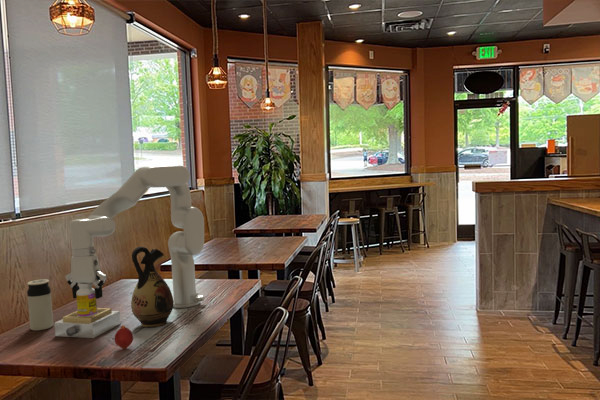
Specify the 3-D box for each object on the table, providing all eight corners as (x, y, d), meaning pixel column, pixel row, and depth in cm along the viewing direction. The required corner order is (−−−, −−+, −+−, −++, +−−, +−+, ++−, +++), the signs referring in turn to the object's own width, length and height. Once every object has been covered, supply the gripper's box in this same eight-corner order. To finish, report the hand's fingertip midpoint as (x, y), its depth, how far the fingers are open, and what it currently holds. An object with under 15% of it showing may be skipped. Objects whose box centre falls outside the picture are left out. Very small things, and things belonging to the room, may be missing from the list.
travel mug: (58, 324, 195) (54, 279, 194) (41, 331, 187) (37, 284, 186) (42, 323, 197) (38, 278, 196) (25, 330, 190) (21, 283, 189)
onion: (118, 346, 168) (116, 323, 167) (135, 345, 168) (134, 321, 168) (113, 352, 162) (111, 328, 161) (131, 351, 162) (129, 327, 162)
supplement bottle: (90, 319, 183) (87, 284, 182) (74, 319, 184) (71, 284, 183) (101, 313, 190) (98, 280, 189) (85, 313, 191) (82, 280, 190)
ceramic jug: (161, 315, 202) (157, 241, 200) (182, 322, 191) (177, 244, 189) (121, 325, 190) (115, 247, 188) (140, 334, 179) (134, 251, 177)
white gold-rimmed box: (120, 323, 193) (119, 307, 192) (89, 340, 175) (88, 321, 175) (84, 322, 197) (83, 306, 196) (51, 338, 179) (49, 320, 179)
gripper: (109, 250, 187) (114, 295, 188) (70, 250, 191) (75, 294, 192) (97, 254, 179) (101, 300, 181) (56, 254, 184) (61, 300, 185)
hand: (87, 297), depth 187 cm, fingers open, 9 cm apart
